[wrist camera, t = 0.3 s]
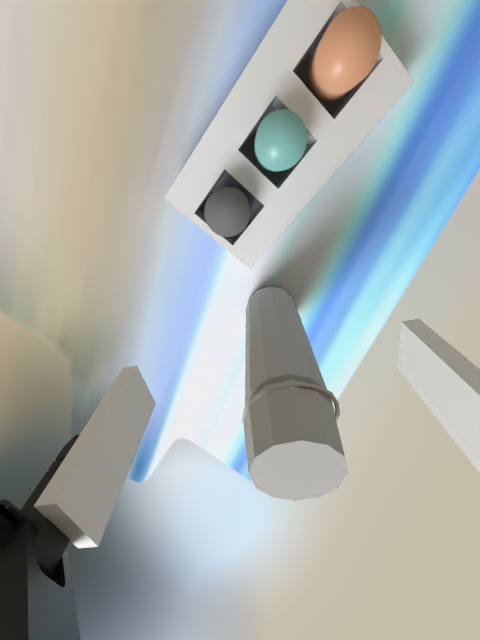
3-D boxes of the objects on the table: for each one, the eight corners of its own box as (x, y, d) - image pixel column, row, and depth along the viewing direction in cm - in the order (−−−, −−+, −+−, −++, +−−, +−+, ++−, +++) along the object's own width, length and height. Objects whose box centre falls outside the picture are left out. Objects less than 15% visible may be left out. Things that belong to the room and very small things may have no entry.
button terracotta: (297, 76, 24) (308, 54, 20) (334, 23, 23) (355, -13, 18) (329, 113, 26) (346, 101, 21) (366, 66, 24) (393, 42, 20)
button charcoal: (202, 210, 30) (195, 216, 26) (226, 176, 29) (222, 177, 24) (232, 236, 31) (230, 246, 27) (257, 205, 30) (259, 210, 25)
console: (175, 195, 32) (164, 198, 28) (307, -11, 24) (320, -53, 20) (249, 257, 36) (250, 268, 32) (387, 96, 28) (414, 81, 23)
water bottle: (234, 300, 39) (217, 461, 17) (281, 273, 37) (332, 416, 15) (265, 345, 43) (285, 524, 21) (310, 322, 40) (385, 496, 18)
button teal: (245, 150, 27) (244, 145, 23) (274, 108, 26) (280, 94, 21) (276, 181, 29) (281, 182, 24) (306, 143, 27) (317, 137, 23)
